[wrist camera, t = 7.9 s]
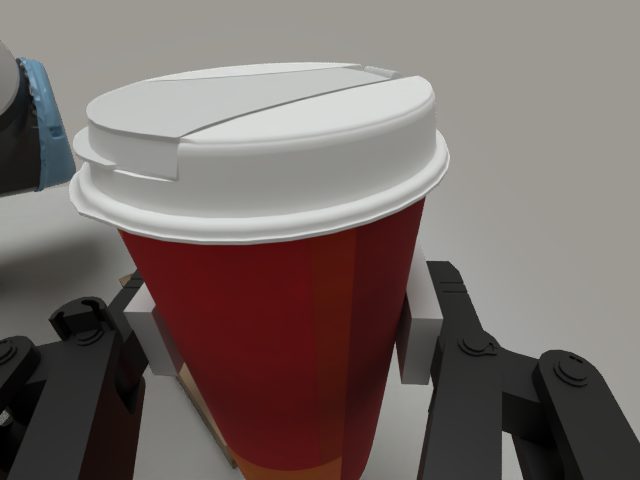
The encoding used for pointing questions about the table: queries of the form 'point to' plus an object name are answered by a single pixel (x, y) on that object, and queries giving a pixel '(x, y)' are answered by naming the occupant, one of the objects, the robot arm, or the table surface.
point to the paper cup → (272, 240)
